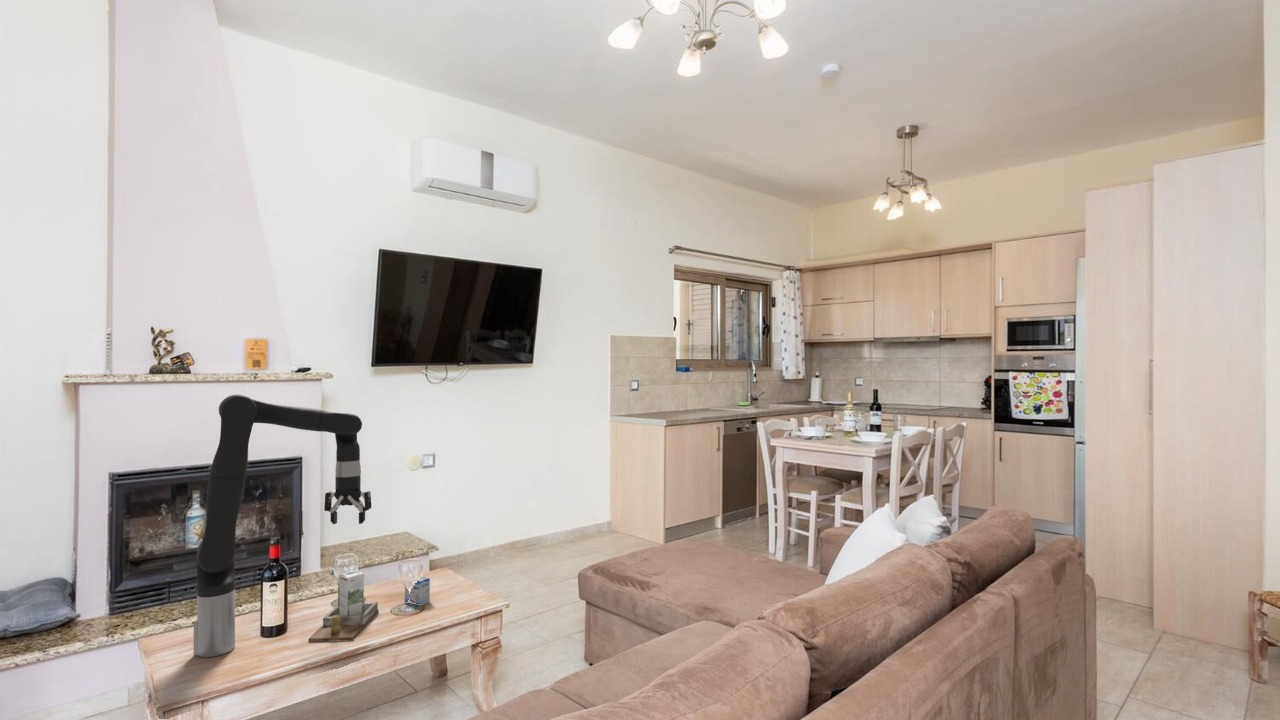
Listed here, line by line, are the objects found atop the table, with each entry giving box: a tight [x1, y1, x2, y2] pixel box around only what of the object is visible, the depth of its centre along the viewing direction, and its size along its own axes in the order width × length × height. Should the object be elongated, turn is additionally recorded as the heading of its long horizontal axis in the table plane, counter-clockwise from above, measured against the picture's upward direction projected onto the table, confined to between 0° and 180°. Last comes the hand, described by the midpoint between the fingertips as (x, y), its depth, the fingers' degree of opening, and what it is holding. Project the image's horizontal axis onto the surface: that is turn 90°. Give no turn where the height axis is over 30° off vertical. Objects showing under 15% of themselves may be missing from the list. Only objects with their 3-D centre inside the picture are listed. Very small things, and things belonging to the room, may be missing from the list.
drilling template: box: [308, 601, 380, 643], centre depth 201 cm, size 13×22×6 cm, turn 3°
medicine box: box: [404, 576, 431, 606], centre depth 221 cm, size 8×4×9 cm, turn 62°
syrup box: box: [337, 569, 365, 616], centre depth 205 cm, size 6×6×14 cm
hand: (347, 523), depth 206 cm, fingers open, 8 cm apart
